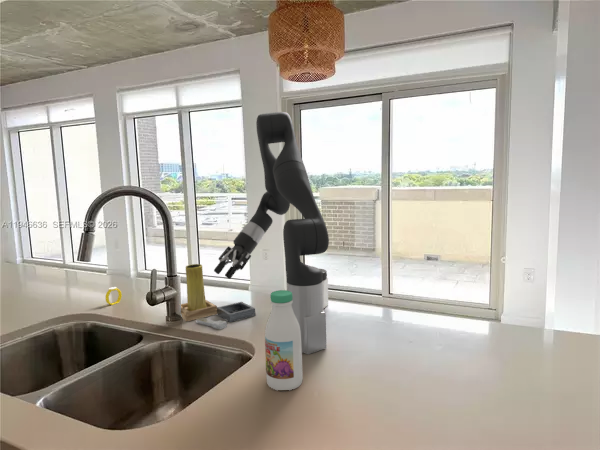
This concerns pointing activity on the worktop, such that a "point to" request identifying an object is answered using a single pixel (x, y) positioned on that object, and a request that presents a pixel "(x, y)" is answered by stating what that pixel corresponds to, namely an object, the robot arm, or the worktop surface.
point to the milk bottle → (283, 344)
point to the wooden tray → (198, 311)
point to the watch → (109, 294)
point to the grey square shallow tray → (225, 312)
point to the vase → (195, 287)
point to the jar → (325, 288)
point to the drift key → (212, 323)
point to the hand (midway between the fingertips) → (221, 274)
